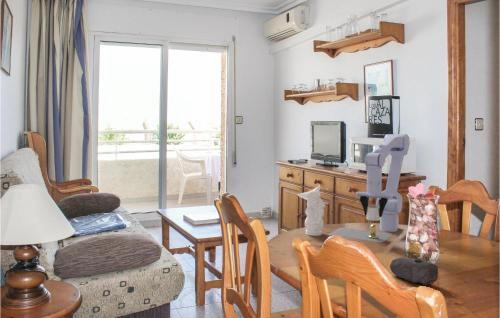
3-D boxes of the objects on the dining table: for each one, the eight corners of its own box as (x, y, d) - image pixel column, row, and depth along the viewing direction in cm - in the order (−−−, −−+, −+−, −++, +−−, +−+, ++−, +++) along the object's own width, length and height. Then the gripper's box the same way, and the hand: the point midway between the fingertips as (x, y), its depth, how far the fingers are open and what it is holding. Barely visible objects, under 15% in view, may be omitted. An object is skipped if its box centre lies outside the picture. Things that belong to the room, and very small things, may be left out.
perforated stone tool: (385, 275, 136) (385, 253, 136) (395, 272, 139) (395, 251, 139) (429, 290, 124) (430, 266, 124) (439, 286, 127) (440, 262, 127)
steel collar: (368, 217, 181) (369, 205, 180) (381, 218, 178) (381, 206, 177) (365, 219, 176) (365, 207, 176) (378, 221, 173) (378, 208, 173)
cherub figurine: (318, 241, 177) (318, 187, 176) (290, 237, 184) (291, 185, 182) (329, 235, 188) (330, 184, 186) (302, 231, 194) (303, 182, 192)
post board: (340, 230, 195) (340, 216, 195) (392, 237, 183) (393, 222, 183) (326, 238, 182) (327, 223, 181) (382, 246, 170) (383, 229, 169)
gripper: (353, 182, 176) (352, 215, 177) (390, 184, 169) (389, 219, 170) (358, 180, 182) (358, 212, 183) (394, 182, 175) (393, 216, 176)
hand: (373, 215), depth 177 cm, fingers closed on steel collar, 5 cm apart
